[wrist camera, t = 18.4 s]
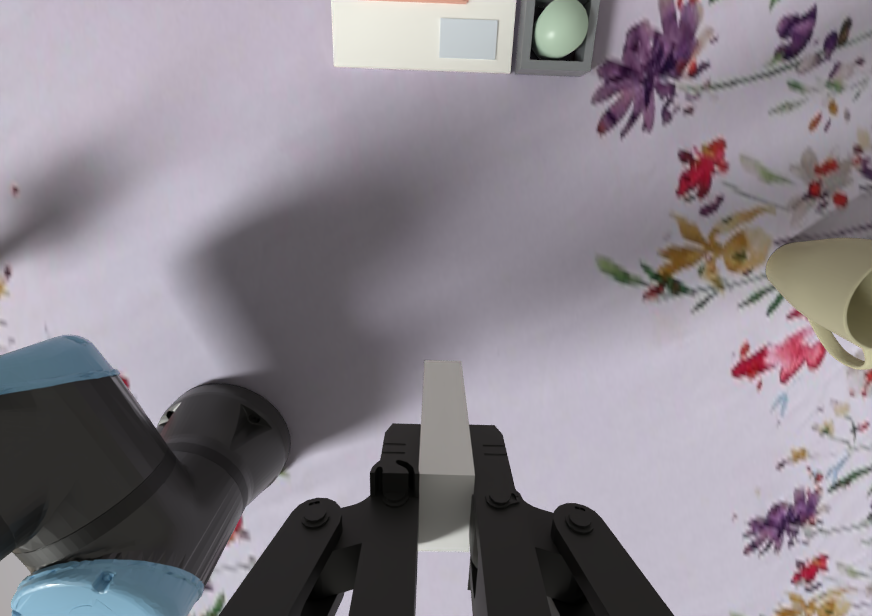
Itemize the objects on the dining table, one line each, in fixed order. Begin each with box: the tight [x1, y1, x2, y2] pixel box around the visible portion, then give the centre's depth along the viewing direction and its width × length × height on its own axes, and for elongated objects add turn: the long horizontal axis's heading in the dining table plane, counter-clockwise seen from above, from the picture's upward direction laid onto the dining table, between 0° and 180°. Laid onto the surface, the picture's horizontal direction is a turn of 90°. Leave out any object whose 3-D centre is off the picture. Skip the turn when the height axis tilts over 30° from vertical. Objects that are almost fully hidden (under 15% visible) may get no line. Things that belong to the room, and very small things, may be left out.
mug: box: [766, 238, 872, 370], centre depth 41 cm, size 11×10×12 cm
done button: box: [531, 0, 588, 61], centre depth 37 cm, size 4×4×4 cm
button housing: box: [515, 0, 600, 77], centre depth 38 cm, size 6×6×3 cm
